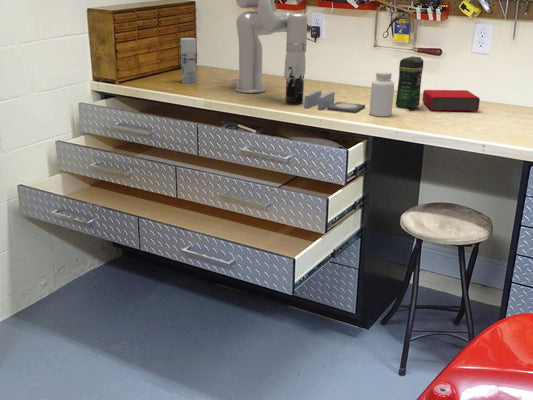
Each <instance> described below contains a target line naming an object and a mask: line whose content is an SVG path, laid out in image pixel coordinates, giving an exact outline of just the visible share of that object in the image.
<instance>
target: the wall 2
mask: <svg viewBox="0 0 533 400" xmlns="http://www.w3.org/2000/svg"><path fill="white" fill-rule="evenodd" d="M335 95H336V92H335V91H330V92H328V93H325V94H323V95H321V96H320V97H318V104H317V110H318V111H323V110H324V109H327V107H329V106H331V105H333V104H335Z"/></svg>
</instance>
